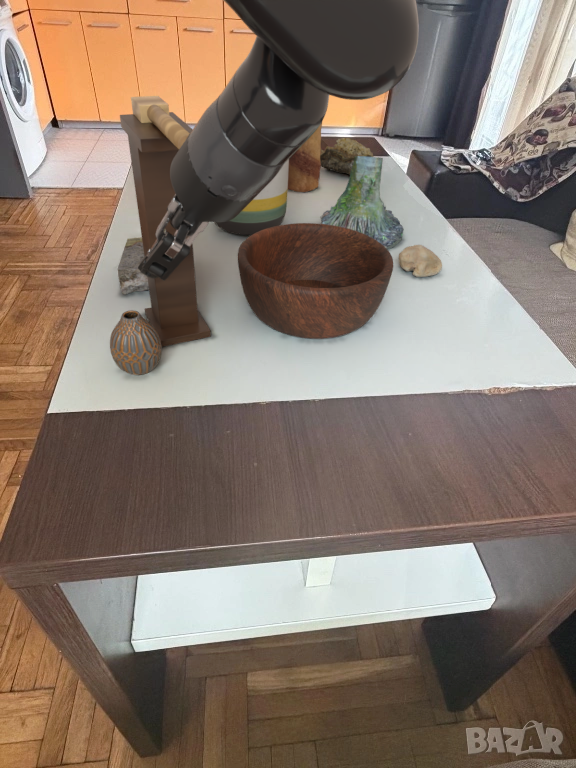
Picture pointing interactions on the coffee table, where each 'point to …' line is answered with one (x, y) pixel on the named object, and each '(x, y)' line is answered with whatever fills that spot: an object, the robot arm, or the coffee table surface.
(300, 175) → the wafer roll
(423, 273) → the stone
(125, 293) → the geological specimen
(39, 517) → the coffee table surface
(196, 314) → the stand
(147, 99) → the wooden mallet
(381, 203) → the tree stump
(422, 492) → the coffee table surface
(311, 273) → the wooden bowl
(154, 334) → the vase
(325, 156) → the mineral specimen
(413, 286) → the coffee table surface
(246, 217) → the vase
